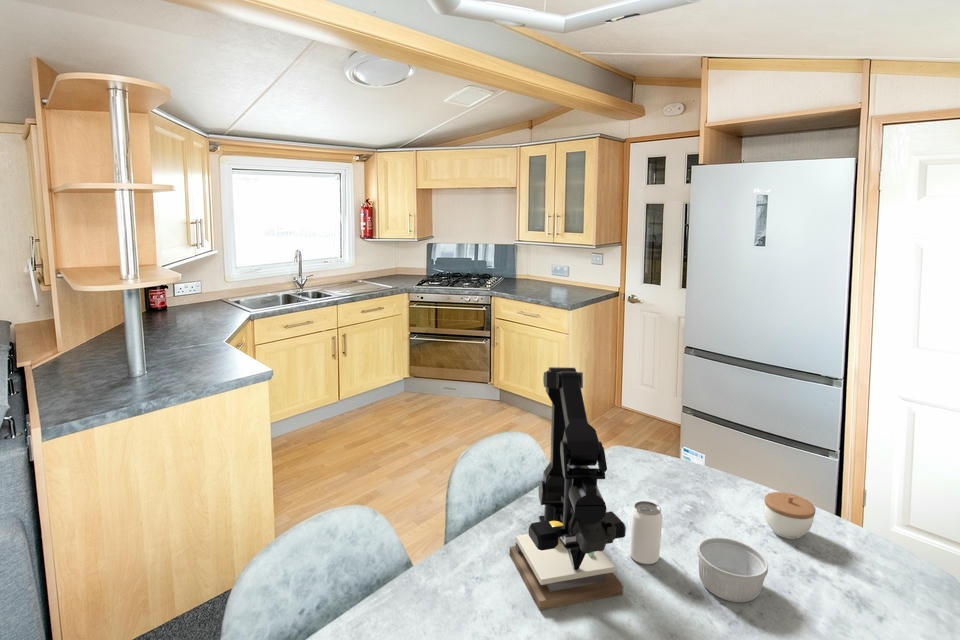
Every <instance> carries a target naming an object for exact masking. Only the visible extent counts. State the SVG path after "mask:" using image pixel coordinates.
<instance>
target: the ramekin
mask: <svg viewBox="0 0 960 640" xmlns="http://www.w3.org/2000/svg"><path fill="white" fill-rule="evenodd" d="M697 557H698V575H699V576H698V577H699V579H700V582H701V583H702V585H703V586H704V587H705V588H706V589H707V591H709V592H710V593H711V594H713V595H714V596H716V597H718V598H720V599H722V600H724V601H728V602H734V603H749V602H751V601H753V600H755V599H756V598H758V597H759V595H760V593H761V591H762V589H763V585H764V582H765V578H766V577H767V575H768V571H769V563H768V561H767V559H766V557H765V556H764V555H763V554H762V553H761V552H760V551H758V550H757V549H756V548H754V547H752V546H751V545H749V544H746V542H745V543H744V542H742V541H739V540H736V539H733V538H728V537H727V538H726V537H710V538H705V539H703V540H702V541H701V542H700V543H699V544H698V547H697Z"/></svg>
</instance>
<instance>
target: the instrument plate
mask: <svg viewBox="0 0 960 640" xmlns="http://www.w3.org/2000/svg"><path fill="white" fill-rule="evenodd" d="M549 523H550V524H551V526H552V527H556V526H563V523H561V522H558V521H550V522H549ZM516 542H517V544H518V546H519V547H520V549H521V551H522V553H523V554H524V556H525V558H526V560H527V561H528V563H529V565H530V567H531V568H532V570H533V572H534V574H535V575H536V577H537V579H538V581H539V582H540V584H541V585H544V584H550V583H555V582H561V581H566V580H572V579H578V578H583V577H589V576H594V575H600V574H606V573H611V572H613V573H615V571H616V569H615V568H616V566H615V565H614V564H613V562H612V561H611V560H610V559H609V558H608V556H607V555H606V554H605V552H604V550H603V551H595V552H591V553H586V554H585V557H584V559H583V561H582V563H581V565H580V567H579V569H577V570H574V568H573V566H572V564H571V561H570V558H569V555H568V553H567V550H566V548H564V546H563V545H562V544H561V542H560V541H559V540H558V545H557V546H556V547H555V548H554V549H548V550H538V549H537V547H536V546H535V544H534V543H533V541H532V539H531V538H530V536H529V533H526V534H525V533H523V534H519V535H518V534H517V535H515V543H516Z"/></svg>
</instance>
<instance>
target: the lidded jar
mask: <svg viewBox="0 0 960 640" xmlns="http://www.w3.org/2000/svg"><path fill="white" fill-rule="evenodd" d="M763 507H764V508H763V512H764V513H763V514H764V518H765V521H766V524H767V525H768V526H769V528H770V529H771V531H772V530H773V531H772V532H773V534H775V533H776V534H775V535H777V534H778V535H779V537H780V536H782V537H781V538H783V537H785V538H784V539H786V538H791V539H790V540H796V539H795V538H798V537H799V538H800V537H802V536H805V535H806V534H808V532H810V530H811V528H812V527H813V523H814V520H815V515H816V510H817V509H816V507H815V505H814V504H813V503H812V502H810V500H807V499H806V498H804V497H801V496H800V495H796V494H793V493H789V492H783V491H773V492H769V493H767V494H766V495H764V506H763ZM778 535H777V536H778ZM799 538H798V539H799Z"/></svg>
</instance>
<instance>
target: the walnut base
mask: <svg viewBox="0 0 960 640" xmlns="http://www.w3.org/2000/svg"><path fill="white" fill-rule="evenodd" d="M508 554H509V556H510V558H511V560H512V563H513V564H514V566H515V568H516V569H517V571H518V574H519V575H520V577H521V579H522V581H523V583H524V585H525V586H526V589H527V591H528V592H529V594H530V596H531V598H532V599H533V601H534V603H535V605H536V607H537V609H538V611H542V610H548V609H554V608H559V607H564V606H568V605H569V606H570V605H574V604H579V603H584V602H590V601H595V600H601V599H606V598H612V597H617V596H621V595H623V594H624V593H623V592H624V585H623V583H622V582H621V581H620V580H619V578H618V577H617V575H615V572H611V573H606V574H600V575H594V576H589V577H583V578H578V579H572V580H566V581H561V582H555V583H550V584H544V585H541V584H540V582H539V581H538V579H537V577H536V575H535V574H534V572H533V570H532V568H531V567H530V565H529V563H528V561H527V560H526V558H525V556H524V554H523V553H522V551H521V549H520V547H519V546H518V544H517V542H516V541H515V545H512V546H509V553H508Z"/></svg>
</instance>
